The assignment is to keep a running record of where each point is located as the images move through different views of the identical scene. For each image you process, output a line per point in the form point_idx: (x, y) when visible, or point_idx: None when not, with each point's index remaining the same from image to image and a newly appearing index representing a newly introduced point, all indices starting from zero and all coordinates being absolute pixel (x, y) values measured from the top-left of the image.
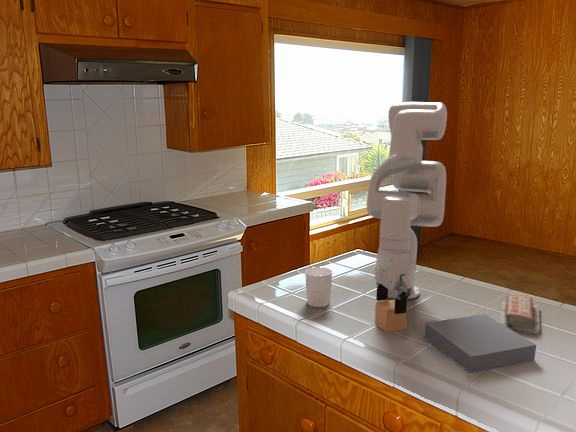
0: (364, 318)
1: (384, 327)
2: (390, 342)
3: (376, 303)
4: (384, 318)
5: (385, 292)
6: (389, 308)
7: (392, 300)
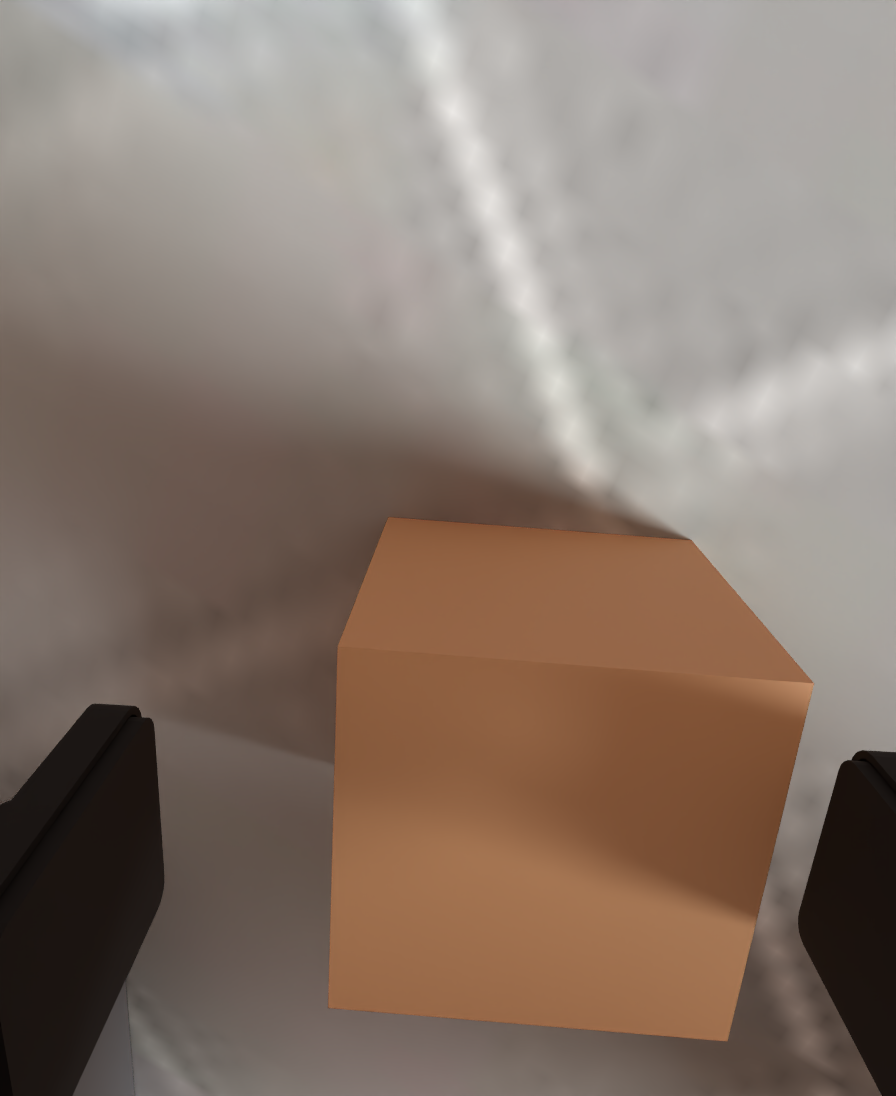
0: (864, 468)
1: (419, 533)
2: (94, 408)
3: (772, 670)
4: (421, 579)
5: (888, 1028)
6: (415, 749)
7: (712, 978)
